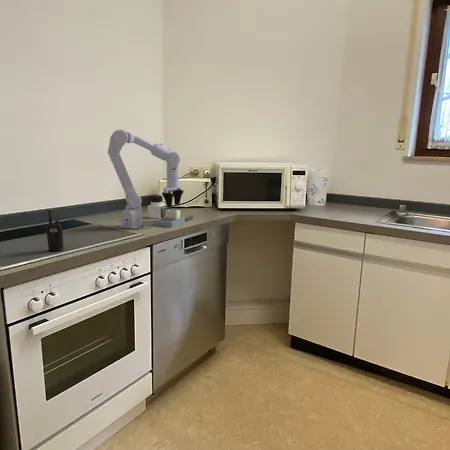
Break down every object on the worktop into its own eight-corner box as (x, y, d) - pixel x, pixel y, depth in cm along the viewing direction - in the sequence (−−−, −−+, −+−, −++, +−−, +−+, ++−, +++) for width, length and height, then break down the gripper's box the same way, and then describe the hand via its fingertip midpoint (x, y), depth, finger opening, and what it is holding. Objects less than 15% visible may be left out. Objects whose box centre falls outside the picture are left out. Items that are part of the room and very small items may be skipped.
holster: (186, 223, 193) (186, 218, 193) (172, 221, 196) (172, 217, 196) (193, 220, 200) (193, 216, 199) (179, 218, 203) (179, 214, 202)
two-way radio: (47, 251, 143) (43, 211, 140) (50, 248, 147) (46, 208, 144) (63, 251, 144) (59, 210, 141) (65, 248, 148) (62, 208, 145)
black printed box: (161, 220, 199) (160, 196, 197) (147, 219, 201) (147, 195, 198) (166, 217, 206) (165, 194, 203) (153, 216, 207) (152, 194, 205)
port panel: (171, 228, 181) (171, 222, 180) (154, 226, 184) (154, 220, 183) (185, 223, 193) (185, 216, 192) (168, 221, 196) (168, 215, 195)
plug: (176, 224, 188) (176, 210, 187) (167, 223, 190) (167, 209, 189) (180, 222, 192) (180, 209, 190) (171, 221, 194) (171, 208, 192)
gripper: (172, 179, 178) (173, 209, 181) (187, 176, 191) (187, 204, 194) (159, 178, 181) (159, 208, 184) (174, 176, 194) (175, 203, 197)
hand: (173, 206), depth 189 cm, fingers open, 7 cm apart
